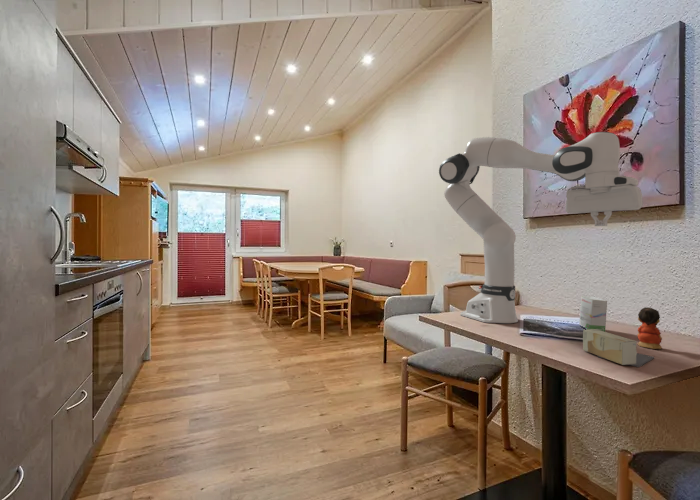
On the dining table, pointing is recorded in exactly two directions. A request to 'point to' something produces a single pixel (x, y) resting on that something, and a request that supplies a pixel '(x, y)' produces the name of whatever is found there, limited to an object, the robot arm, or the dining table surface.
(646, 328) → the figurine
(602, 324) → the ink box
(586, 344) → the skincare box
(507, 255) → the robot arm
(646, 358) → the felt mat
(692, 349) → the dining table surface
